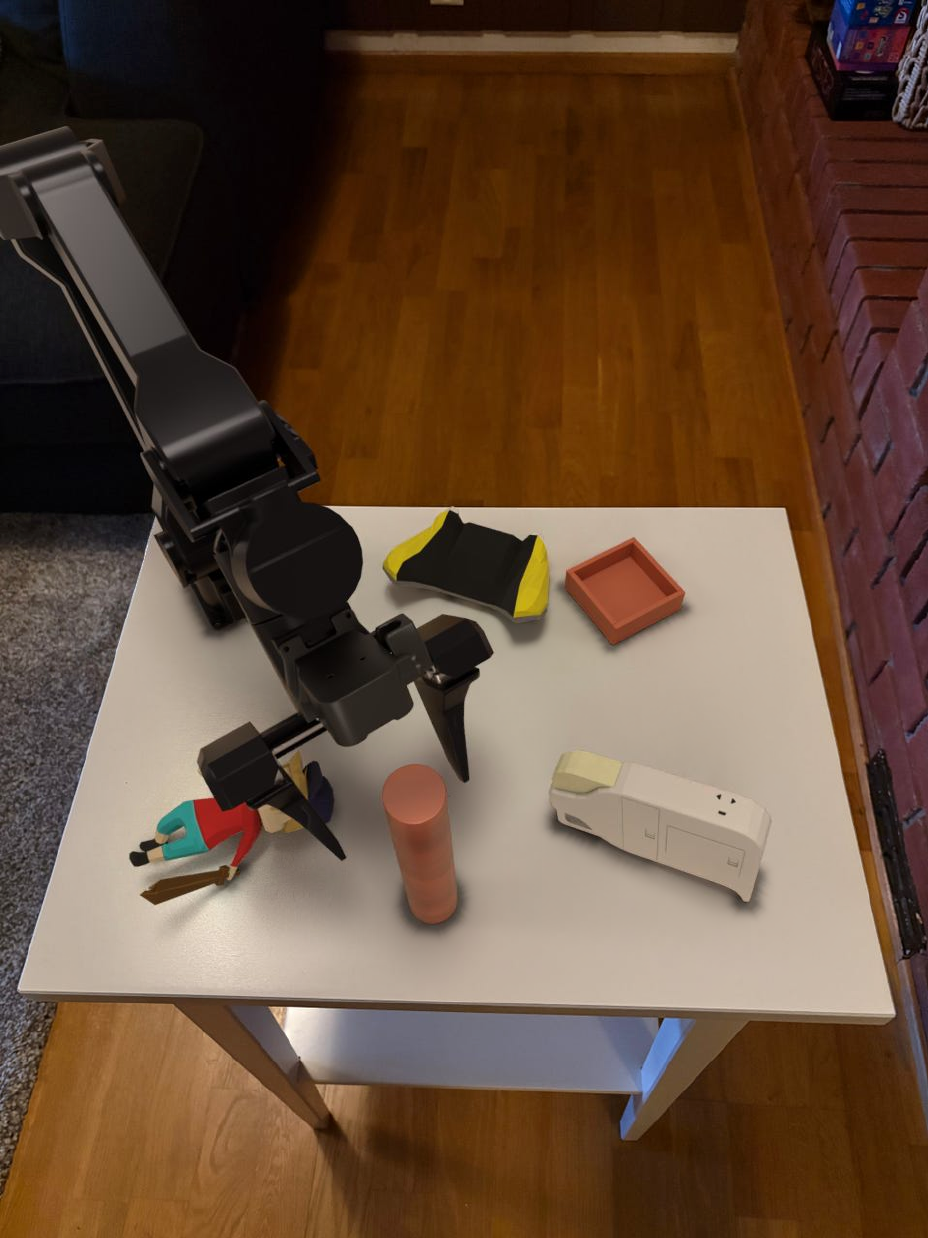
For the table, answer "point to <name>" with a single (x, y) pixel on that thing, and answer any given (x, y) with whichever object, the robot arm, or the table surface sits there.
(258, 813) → the toy
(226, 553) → the robot arm
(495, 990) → the table surface
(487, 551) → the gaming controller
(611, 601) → the terracotta bin
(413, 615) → the table surface
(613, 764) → the white device casing
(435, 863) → the terracotta peg
